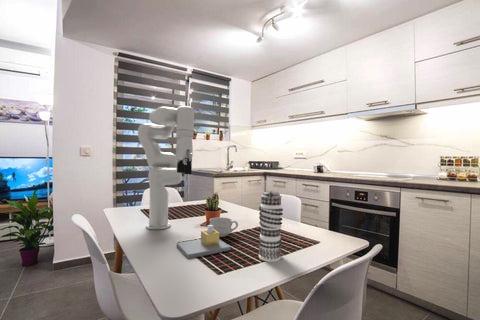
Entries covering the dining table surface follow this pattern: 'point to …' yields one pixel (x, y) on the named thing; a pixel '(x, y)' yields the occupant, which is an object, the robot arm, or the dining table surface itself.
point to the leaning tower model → (270, 226)
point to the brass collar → (209, 238)
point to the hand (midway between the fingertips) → (183, 173)
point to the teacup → (223, 225)
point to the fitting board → (201, 247)
